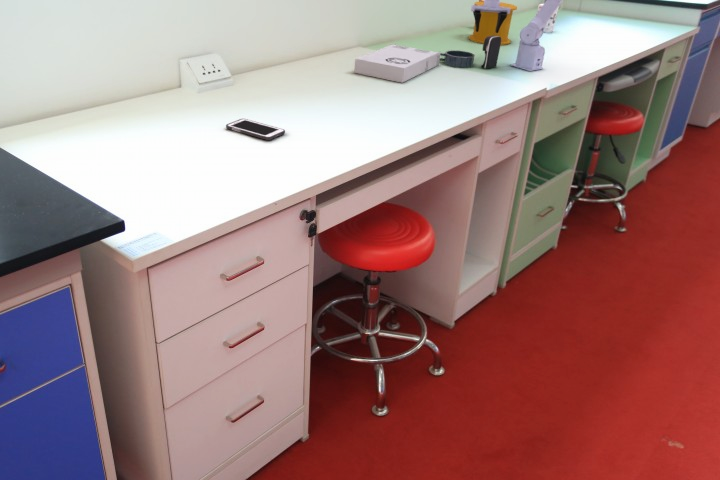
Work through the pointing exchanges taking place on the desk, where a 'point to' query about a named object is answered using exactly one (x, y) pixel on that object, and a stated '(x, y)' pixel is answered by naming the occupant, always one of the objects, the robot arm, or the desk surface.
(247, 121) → the cell phone
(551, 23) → the ink box
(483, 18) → the spool
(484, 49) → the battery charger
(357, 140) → the desk surface
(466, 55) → the gray segmented ring
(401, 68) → the power supply unit
